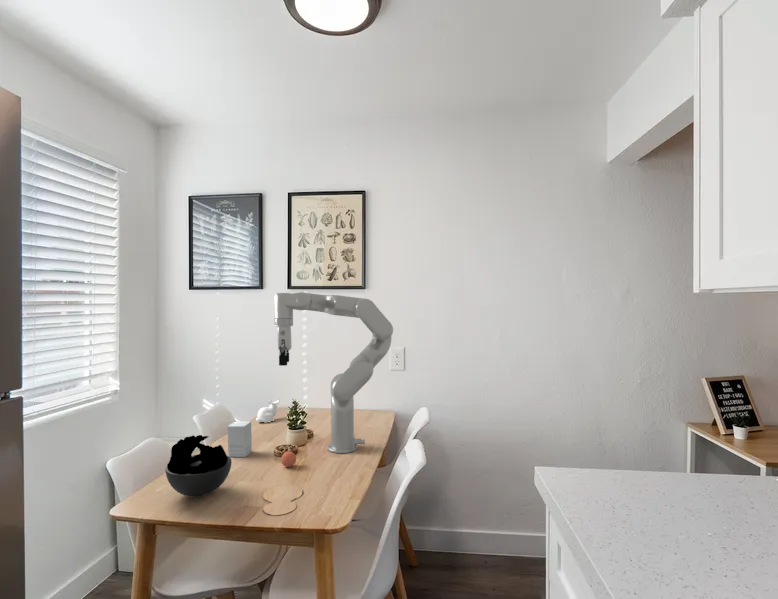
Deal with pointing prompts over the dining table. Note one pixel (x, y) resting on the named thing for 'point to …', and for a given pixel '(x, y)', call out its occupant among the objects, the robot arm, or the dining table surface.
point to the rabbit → (267, 412)
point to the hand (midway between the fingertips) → (284, 363)
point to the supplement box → (239, 439)
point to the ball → (288, 459)
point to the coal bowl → (197, 467)
